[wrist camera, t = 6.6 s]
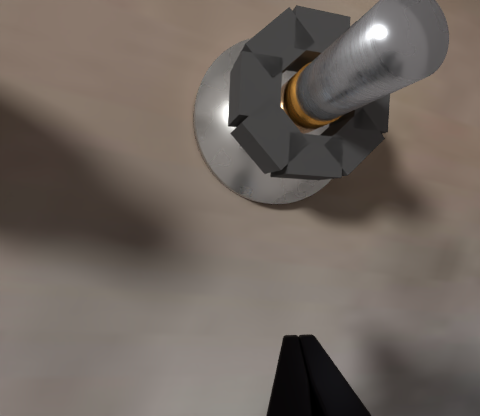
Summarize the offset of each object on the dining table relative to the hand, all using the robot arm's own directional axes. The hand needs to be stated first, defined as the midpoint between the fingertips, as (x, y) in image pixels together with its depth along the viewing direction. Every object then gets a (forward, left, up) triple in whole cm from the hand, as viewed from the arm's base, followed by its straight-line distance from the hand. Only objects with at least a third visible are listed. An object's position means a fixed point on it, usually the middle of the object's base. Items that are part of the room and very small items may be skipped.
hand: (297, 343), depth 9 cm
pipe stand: (+9, +4, -13) cm, 16 cm away
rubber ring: (+9, +4, -9) cm, 13 cm away
